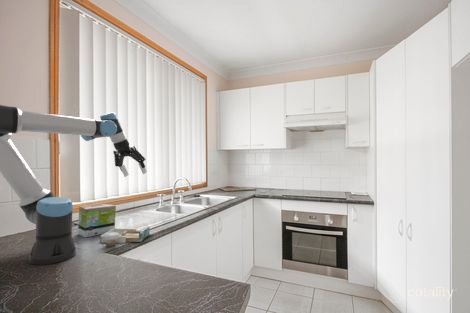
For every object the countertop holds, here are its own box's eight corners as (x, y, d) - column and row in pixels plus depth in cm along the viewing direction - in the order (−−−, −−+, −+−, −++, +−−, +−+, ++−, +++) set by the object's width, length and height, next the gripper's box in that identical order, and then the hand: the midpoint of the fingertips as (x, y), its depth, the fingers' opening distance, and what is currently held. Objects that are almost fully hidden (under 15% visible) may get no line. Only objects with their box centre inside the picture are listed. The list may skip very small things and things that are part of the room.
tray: (140, 242, 116) (140, 233, 116) (114, 241, 116) (115, 233, 116) (149, 234, 129) (149, 226, 129) (126, 233, 128) (126, 226, 129)
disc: (114, 240, 108) (114, 236, 108) (99, 240, 108) (99, 236, 108) (122, 235, 115) (122, 232, 115) (107, 235, 115) (107, 232, 115)
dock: (125, 242, 115) (125, 236, 115) (99, 242, 115) (99, 236, 115) (136, 234, 129) (136, 228, 129) (113, 233, 129) (113, 228, 129)
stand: (112, 247, 109) (112, 239, 109) (104, 246, 109) (105, 239, 109) (116, 244, 113) (116, 236, 113) (108, 244, 113) (109, 236, 113)
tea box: (85, 238, 121) (86, 209, 121) (77, 234, 127) (78, 206, 127) (115, 231, 133) (116, 205, 133) (106, 228, 139) (107, 202, 139)
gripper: (141, 134, 130) (156, 168, 137) (108, 141, 139) (123, 173, 146) (132, 139, 124) (149, 175, 131) (98, 146, 132) (115, 180, 140)
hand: (135, 174), depth 139 cm, fingers open, 13 cm apart
